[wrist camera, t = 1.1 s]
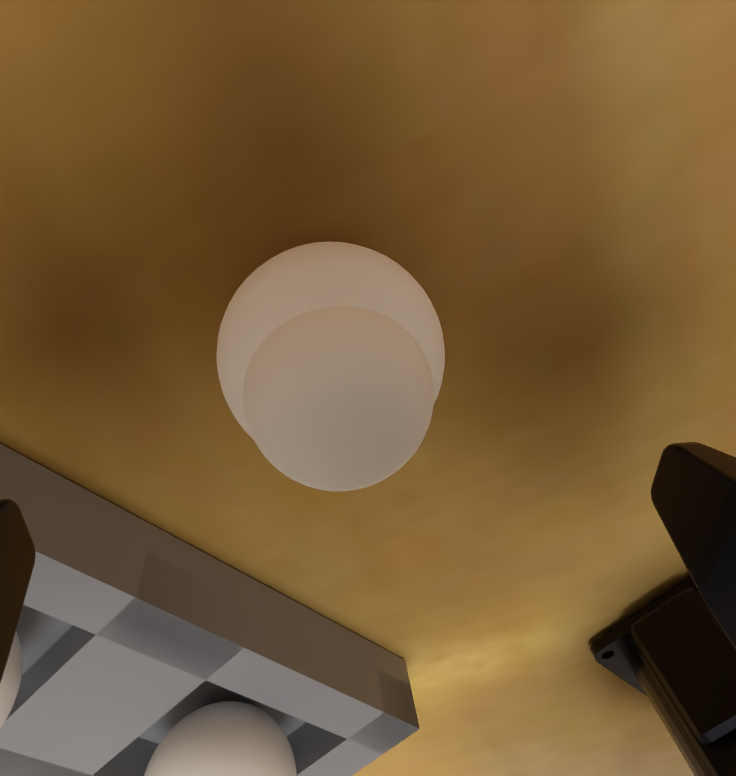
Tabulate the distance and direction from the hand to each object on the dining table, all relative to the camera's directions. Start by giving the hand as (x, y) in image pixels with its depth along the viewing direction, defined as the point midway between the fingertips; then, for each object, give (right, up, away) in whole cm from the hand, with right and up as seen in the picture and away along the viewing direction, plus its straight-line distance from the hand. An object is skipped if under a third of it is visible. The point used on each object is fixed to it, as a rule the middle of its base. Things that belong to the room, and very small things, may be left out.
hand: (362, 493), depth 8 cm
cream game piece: (-1, +3, +6) cm, 7 cm away
